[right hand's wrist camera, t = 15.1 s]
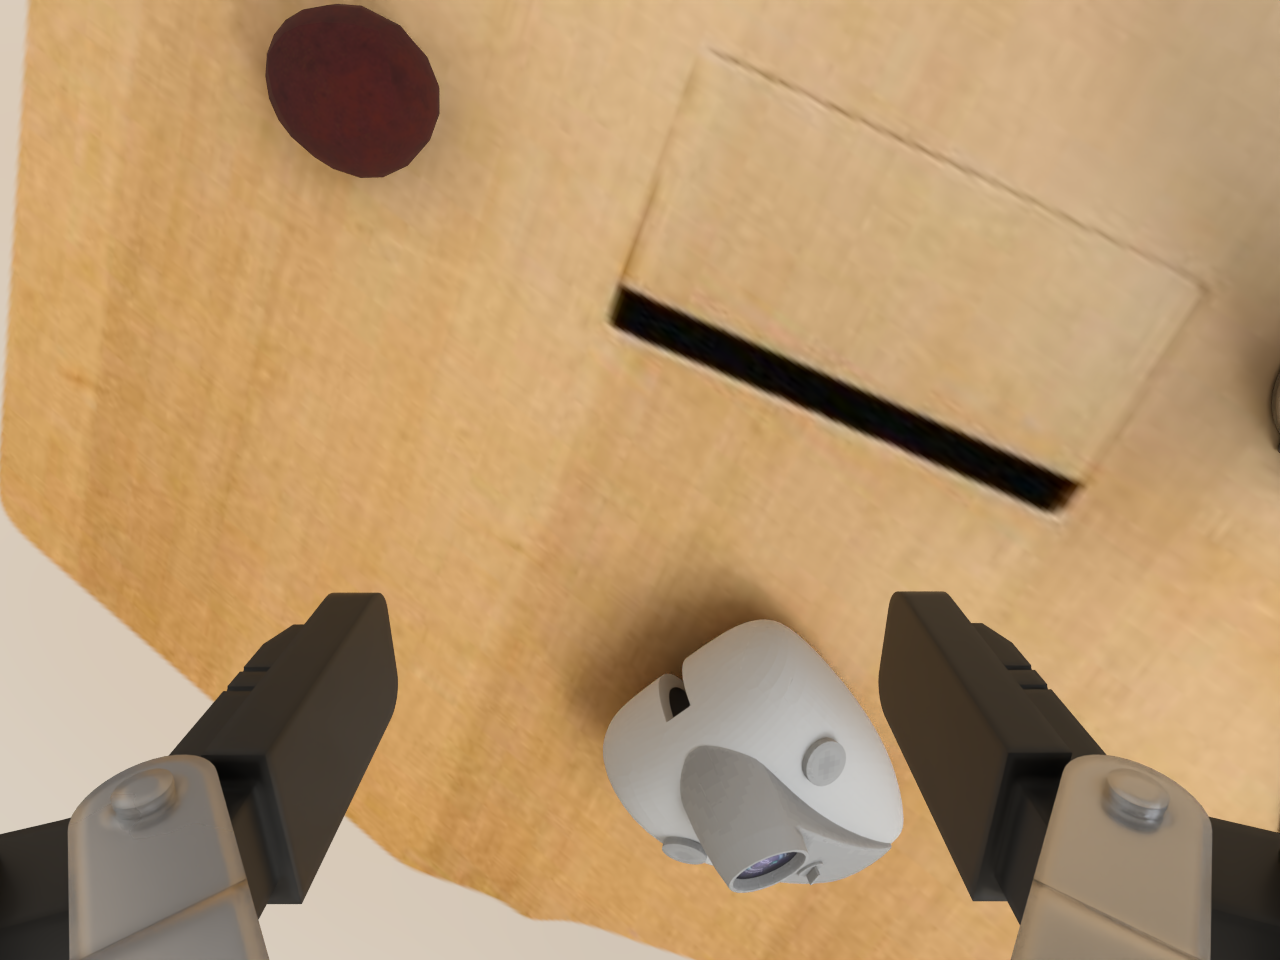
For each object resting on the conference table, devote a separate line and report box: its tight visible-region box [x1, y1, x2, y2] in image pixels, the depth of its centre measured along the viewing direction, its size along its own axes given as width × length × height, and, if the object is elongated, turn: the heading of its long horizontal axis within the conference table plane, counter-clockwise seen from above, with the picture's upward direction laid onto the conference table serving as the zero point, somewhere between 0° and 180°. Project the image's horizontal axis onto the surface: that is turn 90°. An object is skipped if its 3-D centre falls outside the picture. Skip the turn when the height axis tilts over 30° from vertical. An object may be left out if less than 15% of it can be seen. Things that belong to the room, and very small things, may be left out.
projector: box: [603, 619, 903, 893], centre depth 46 cm, size 22×23×15 cm
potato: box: [265, 4, 439, 178], centre depth 34 cm, size 7×8×7 cm
